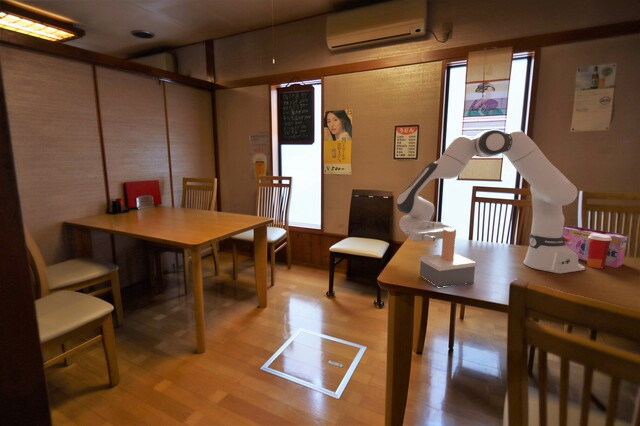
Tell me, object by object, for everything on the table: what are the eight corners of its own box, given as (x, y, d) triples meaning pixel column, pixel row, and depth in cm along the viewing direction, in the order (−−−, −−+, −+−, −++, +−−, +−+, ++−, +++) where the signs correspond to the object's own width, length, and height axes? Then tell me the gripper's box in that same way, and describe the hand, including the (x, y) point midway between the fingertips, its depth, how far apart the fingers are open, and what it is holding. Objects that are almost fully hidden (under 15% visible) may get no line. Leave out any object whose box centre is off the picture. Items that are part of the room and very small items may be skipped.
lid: (453, 259, 132) (456, 225, 130) (475, 269, 121) (478, 232, 118) (419, 263, 128) (421, 228, 125) (438, 274, 116) (441, 235, 113)
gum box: (553, 253, 155) (556, 226, 153) (561, 250, 159) (564, 224, 157) (616, 267, 135) (621, 237, 133) (623, 264, 139) (628, 234, 136)
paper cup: (598, 263, 141) (602, 233, 138) (612, 269, 133) (617, 237, 130) (579, 262, 141) (583, 232, 139) (592, 269, 134) (597, 237, 131)
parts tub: (452, 272, 133) (453, 256, 132) (473, 283, 122) (475, 265, 120) (419, 276, 129) (420, 260, 128) (438, 288, 118) (439, 270, 116)
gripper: (402, 225, 135) (421, 233, 122) (443, 221, 140) (465, 228, 127) (402, 239, 136) (420, 248, 123) (442, 235, 141) (464, 243, 128)
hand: (443, 238), depth 125 cm, fingers open, 8 cm apart
